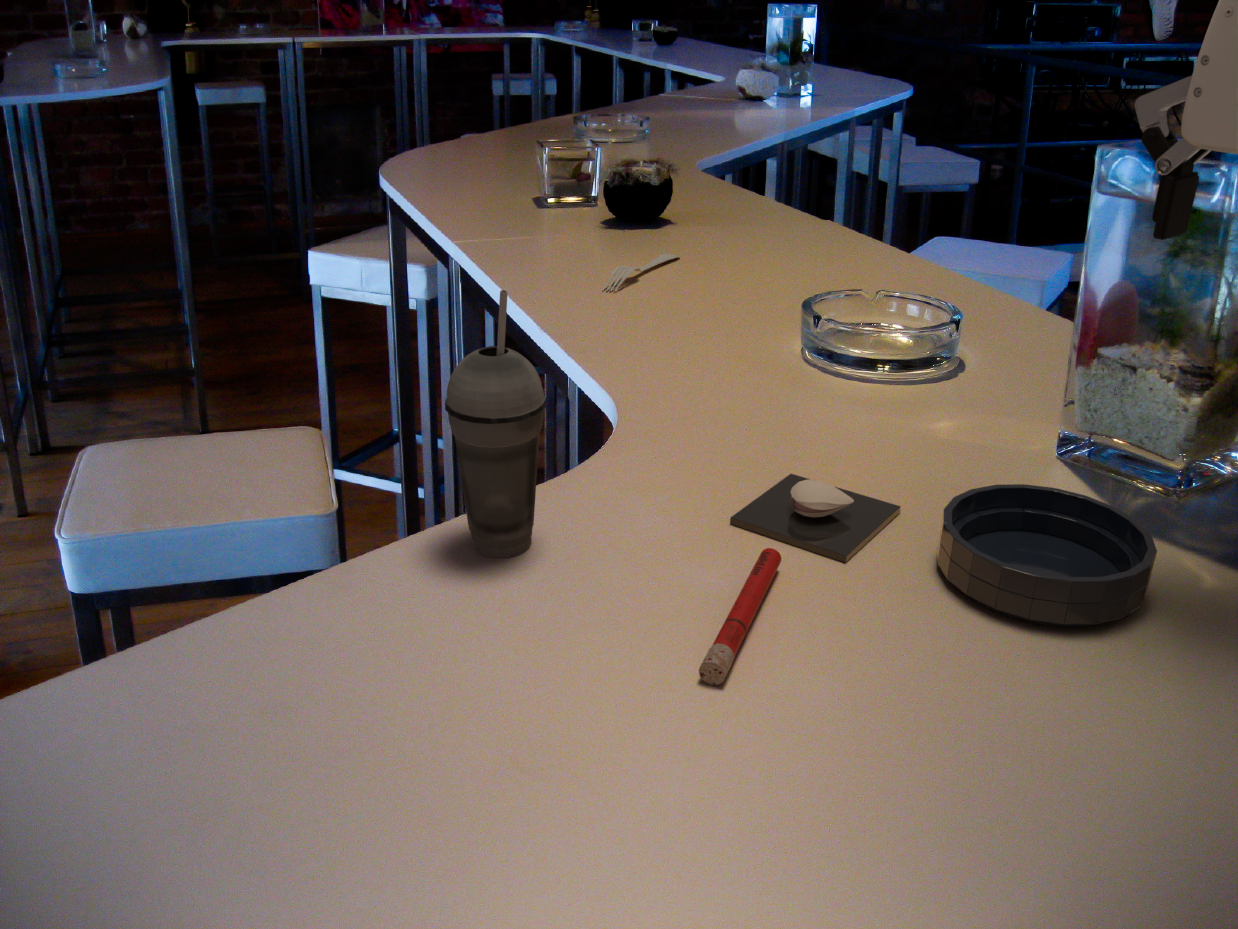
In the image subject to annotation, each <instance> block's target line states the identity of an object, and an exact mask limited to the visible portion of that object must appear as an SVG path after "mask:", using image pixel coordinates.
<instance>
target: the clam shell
mask: <svg viewBox="0 0 1238 929" xmlns="http://www.w3.org/2000/svg"><path fill="white" fill-rule="evenodd" d="M836 487H837V486H834V485H832V484H829V483H827V482H825V481H822V480H817V479H811V480H803V481H800V482H798V483H797V484H796V485H794V486H793V487H792V489H791V495H792V497H791V499H790V504H791V506H792V508H793V509H794V510H795V511H796V512H797V513H798V514H801V515H803V516H806V517H823V516H826V515H829V514H832V513H835V512H837V511H839V510H841V509H843V508H845V507H847V506H849V505H850V504H852V503H853V502H854V500H853V499H852V498H851V497H849V496H848V495H847V494H845V493H844V492H842V491H840V490H839V489H837V488H836Z"/></svg>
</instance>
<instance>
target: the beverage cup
mask: <svg viewBox="0 0 1238 929" xmlns="http://www.w3.org/2000/svg"><path fill="white" fill-rule="evenodd" d="M508 292H509V291H508V290H505V289H502V290H500V292H499V305H498V324H497V342H496V345H490V346H489V345H488V346H484V347H481V348H478V349H477V348H476V349H475V350H473V351H472V352H470V353H468V354H467V355H465V356H464V357H463V358H462V359H461V360H460V362H458V364H457V365H456V367H455V368H454V369H453V371H452V372H451V375H450V377H449V379H448V383H447V388H446V397H445V401H444V411H446V413H447V417H448V418H447V419H448V423H449V426H450V430H451V434H452V435H453V437H454V443H455V449H456V454H457V461H458V462H457V463H458V469H459V474H460V480H461V487H462V488H461V489H462V494H463V499H464V500H463V501H464V507H465V513H466V521H467V525H468V527H467V528H468V530H469V534H470V538H471V544H472V548H473V550H474V551H475V552H476V553H478V554H480V555H481V556H483V557H484V556H485V557H488V558H493V559H503V558H505V559H506V558H511V557H515V556H519V555H521V554H523V553H525V552H526V551H527V550H529V548H530V547H531V546H532V536H533V527H534V524H535V508H536V493H537V477H538V465H539V464H538V462H539V447H540V446H539V445H540V432H541V431H542V427H543V422H544V416H545V408H546V406H547V400H546V396H545V394H544V389H543V385H542V381H541V377H540V375H539V373H538V371H537V370H536V368H535V366H534V365H533V364H532V363H531V362H530V361H529V359H527V358H526V357H525V356H524V355H522V354H521V353H520V352H518V351H516V350H514V349H512V348H509V347H506V330H507V328H506V327H507V311H508Z"/></svg>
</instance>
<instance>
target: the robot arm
mask: <svg viewBox="0 0 1238 929" xmlns="http://www.w3.org/2000/svg"><path fill="white" fill-rule="evenodd" d="M1181 103H1184V107H1183V112H1182V117H1181V122H1180V124H1181V125H1180V134H1181V136H1182V137H1181V138H1180V139H1178V137H1177V136H1176V134H1175V133H1174V131H1173V130H1172V128H1171V127H1170V126H1169V125H1168V117H1167V115H1168V114H1167V113H1168V111H1169V110H1170V109H1171V108H1172V107H1174V106H1177V105H1179V104H1181ZM1134 109H1135V114H1136V118H1137V122H1138V125H1139V129H1140V130H1141V132H1142V134H1141V142H1142V144H1143V146H1144V147H1145V149H1146V151H1147V152H1148V153H1149V154H1148V155H1150V157H1151V159H1152V160H1153V161H1154V170H1155V172H1156V173H1157V174H1158V175H1160V179H1159V183H1158V188H1157V193H1156V198H1155V201H1154V207H1153V211H1152V218H1151V219H1152V220H1151V221H1152V222H1153V223H1155V225H1154V230H1153V235H1152V237H1153V239H1155V240H1160V241H1165V240H1168V239H1170V238H1175V237H1178V236H1182V235H1183V234H1185V233H1187V232H1188V227H1189V223H1190V219H1191V216H1192V215H1191V214H1192V211H1193V205H1194V202H1195V199H1196V193H1197V189H1198V185H1199V181H1200V175H1199V171H1194V168H1195V165H1197V164H1198V163H1199V162H1200V161H1201V160H1202V159H1204V157H1206V156H1207V155H1208V154H1209V153H1211V152H1217V153H1218V152H1219V153H1226V154H1231V155H1238V0H1218V1H1217V5H1216V7H1215V10H1214V11H1213V14H1212V17H1211V19H1210V22H1209V24H1208V27H1207V30H1206V32H1205V35H1204V39H1203V41H1202V44H1201V47H1200V49H1199V53H1198V56H1197V59H1196V63H1195V66H1194V69H1193V72H1192V74H1191V75H1188V76H1186V77H1183V78H1181V79H1179V80H1177V81H1175V82H1172V83H1169V84H1167V85H1164V86H1162V87H1159V88H1157V89H1155V90H1153V91H1149V92H1147V93H1145V94H1142V95H1140V96H1138V97H1137V98H1136V100H1135V101H1134Z"/></svg>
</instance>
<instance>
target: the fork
mask: <svg viewBox="0 0 1238 929" xmlns="http://www.w3.org/2000/svg"><path fill="white" fill-rule="evenodd" d="M679 258H681V255H677V254H676V255H675V254H669V253H662V254H660V255H658V256H656V258H654V259H653V260H651V261H650V262H649V263H647V264H645V265H643V266H641V267H635V266H628V265H617V266H616V267H615V269H614V270H613V271H612V273H611V274H610V276H609V277H608V279H607V280H606V282H605V284H604V286H603V287H602V290H603V289H604V290H605V289H606V288H607V289H606V290H605V292H606V291H607V290H608V291H611V292H612V291H613V292H614V291H615V292H616V291H617V290H618V289H619V288H620V286H621V285H622V284H623V283H624V282H625V280H626V279H627V278H628V277H629V276H630V275H631V274H632V273H633V272H634V271H635V272H644V271H646V270H649V269H650V268H653V267H655V266H658V265H660V264H662V263H665V262H668V261H671V260H675V259H679ZM609 289H610V290H609ZM613 289H614V290H613ZM608 291H607V292H608Z"/></svg>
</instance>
